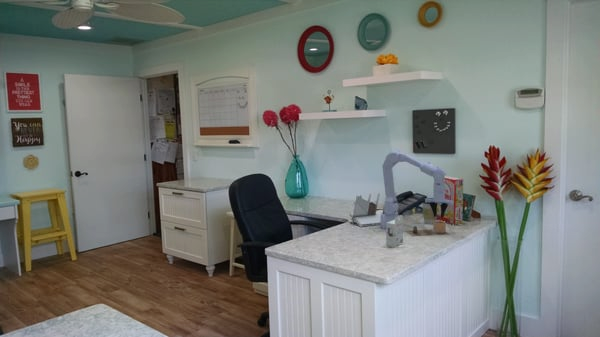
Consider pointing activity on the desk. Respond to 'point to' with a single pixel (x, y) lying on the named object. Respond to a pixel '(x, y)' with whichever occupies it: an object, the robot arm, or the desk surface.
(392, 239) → the ink box
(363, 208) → the architectural model
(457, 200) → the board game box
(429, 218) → the coffee cup
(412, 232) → the hub board
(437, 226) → the collar
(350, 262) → the desk surface
